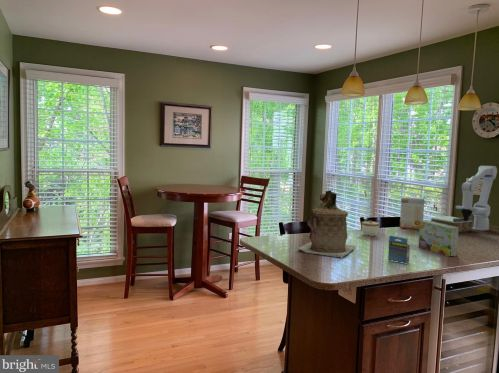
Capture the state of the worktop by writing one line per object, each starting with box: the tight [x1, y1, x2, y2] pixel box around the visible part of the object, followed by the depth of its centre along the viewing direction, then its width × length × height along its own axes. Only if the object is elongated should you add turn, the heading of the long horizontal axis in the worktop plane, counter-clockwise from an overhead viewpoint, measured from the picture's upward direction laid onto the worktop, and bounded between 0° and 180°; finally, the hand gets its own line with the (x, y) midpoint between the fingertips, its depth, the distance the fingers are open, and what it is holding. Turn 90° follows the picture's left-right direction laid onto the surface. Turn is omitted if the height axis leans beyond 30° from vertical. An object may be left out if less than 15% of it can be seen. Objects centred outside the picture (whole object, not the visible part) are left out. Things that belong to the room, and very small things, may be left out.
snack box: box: [418, 219, 459, 257], centre depth 207 cm, size 21×6×15 cm, turn 21°
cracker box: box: [399, 196, 425, 231], centre depth 269 cm, size 14×6×21 cm, turn 58°
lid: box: [430, 215, 474, 223], centre depth 269 cm, size 18×18×3 cm
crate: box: [430, 219, 473, 233], centre depth 270 cm, size 18×18×6 cm
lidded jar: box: [360, 219, 380, 237], centre depth 245 cm, size 11×11×9 cm
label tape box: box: [387, 235, 411, 264], centre depth 186 cm, size 9×4×12 cm, turn 48°
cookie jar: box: [296, 190, 357, 258], centre depth 204 cm, size 25×25×32 cm
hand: (466, 220), depth 261 cm, fingers closed
